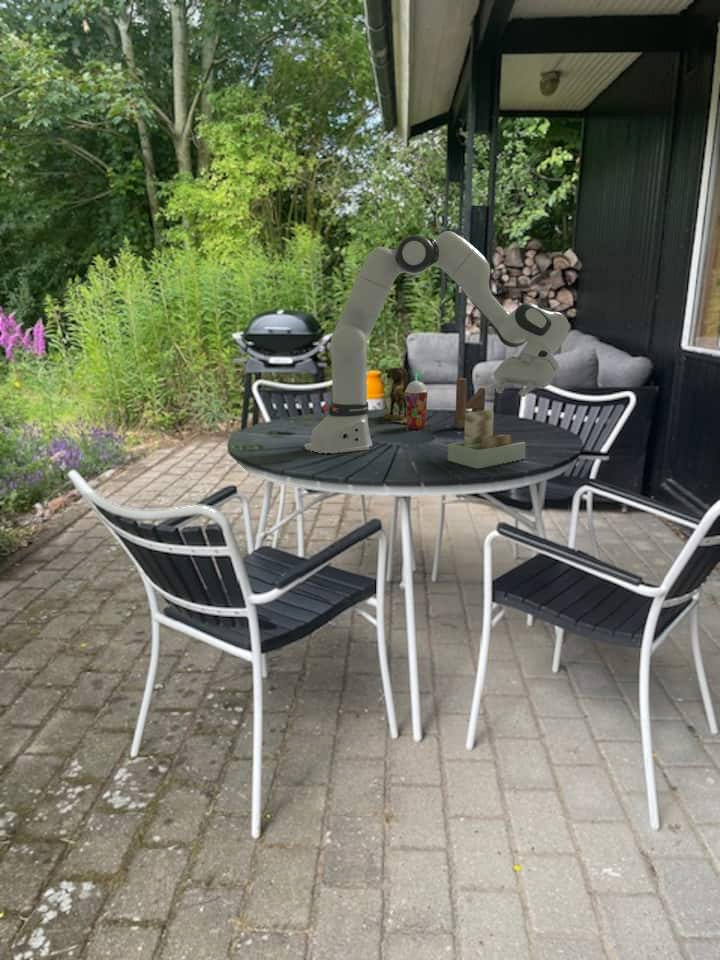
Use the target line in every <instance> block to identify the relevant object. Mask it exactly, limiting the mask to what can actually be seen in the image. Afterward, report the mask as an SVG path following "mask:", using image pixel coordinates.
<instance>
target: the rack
mask: <svg viewBox="0 0 720 960" xmlns="http://www.w3.org/2000/svg"><path fill="white" fill-rule="evenodd" d="M526 446H527V445H526V442H523V441H522V442H516V443H511V444H510V445H505V446H499V447H493V448H488V449H482V444H476V445H471V446H465V447H464V441H459V442H452V443H448V444H447V461H449V462H452V463H456V464H458V465H463V466H467V467H469V468H474V469H477V470H478V469H482V468H488V467H493V466H498V464H499V465H503V463H504V464H508V462H509V463H512V461H514V462H517V461H516V460H519V461H522V460H521V459H524V460H526Z"/></svg>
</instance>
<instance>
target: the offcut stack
mask: <svg viewBox="0 0 720 960" xmlns="http://www.w3.org/2000/svg"><path fill="white" fill-rule="evenodd" d="M511 440H512V436H511V435H510V434H497V435H493V436H491V437H486V438H482V449H488V448H493V447H499V446H505V445H510V444H512V443H511V442H512V441H511Z"/></svg>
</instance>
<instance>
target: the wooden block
mask: <svg viewBox="0 0 720 960" xmlns="http://www.w3.org/2000/svg"><path fill="white" fill-rule="evenodd" d="M467 384H468V383H467V378H464V377H460V378H456V391H455V392H456V396H455V398H456V399H455V401H456V402H455V417H454V418H453V427H454V429H455V428H456V429H458V430H460V429H461V430H462V429H465V413H467V409H468V410H469V409H470V410H471V412H476V411H483V410H486V409H485V406H486V388H484V387H479V388H478V390H477V391H476V392H475V393H474V394H473V395H472V397H471V398H469V400H468V401H467V386H468V385H467Z"/></svg>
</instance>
